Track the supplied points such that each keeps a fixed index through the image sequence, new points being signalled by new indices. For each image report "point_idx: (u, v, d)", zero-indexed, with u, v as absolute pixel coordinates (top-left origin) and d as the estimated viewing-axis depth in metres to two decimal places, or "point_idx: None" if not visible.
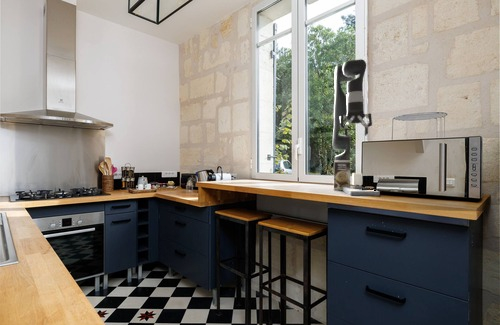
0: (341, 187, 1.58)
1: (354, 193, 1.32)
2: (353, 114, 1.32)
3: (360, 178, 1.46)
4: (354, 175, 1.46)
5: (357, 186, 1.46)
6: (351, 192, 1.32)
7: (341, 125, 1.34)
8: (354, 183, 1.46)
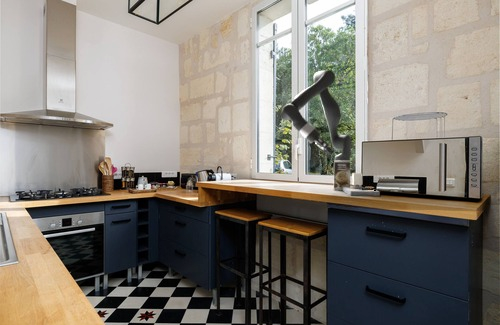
0: (341, 187, 1.58)
1: (354, 193, 1.32)
2: (315, 141, 1.52)
3: (360, 178, 1.46)
4: (354, 175, 1.46)
5: (357, 186, 1.46)
6: (351, 192, 1.32)
7: (321, 149, 1.57)
8: (354, 183, 1.46)
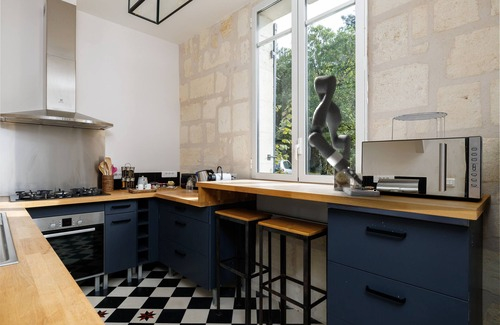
0: (341, 187, 1.58)
1: (354, 193, 1.32)
2: None
3: (360, 178, 1.46)
4: (354, 175, 1.46)
5: (357, 186, 1.46)
6: (351, 192, 1.32)
7: (350, 177, 1.52)
8: (354, 183, 1.46)
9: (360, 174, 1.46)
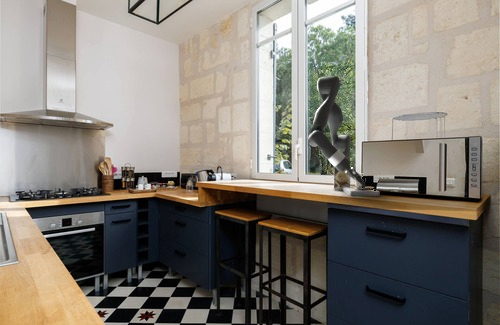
0: (341, 187, 1.58)
1: (354, 193, 1.32)
2: (345, 170, 1.43)
3: None
4: (357, 176, 1.40)
5: (360, 187, 1.40)
6: (351, 192, 1.32)
7: (353, 178, 1.46)
8: (357, 184, 1.40)
9: None
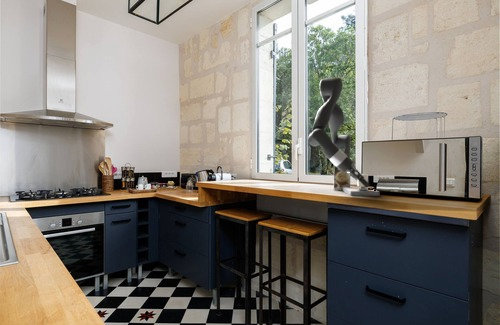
0: (341, 187, 1.58)
1: (354, 193, 1.32)
2: (347, 170, 1.38)
3: (366, 179, 1.34)
4: None
5: (362, 188, 1.34)
6: (351, 192, 1.32)
7: (355, 179, 1.40)
8: (359, 185, 1.35)
9: (366, 175, 1.34)
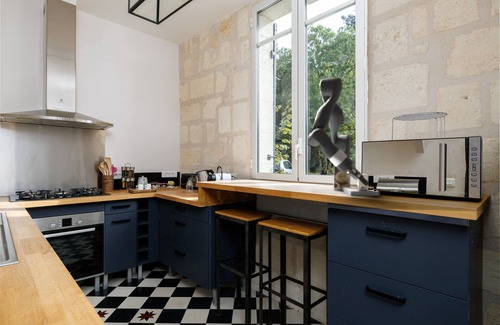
0: (341, 187, 1.58)
1: (354, 193, 1.32)
2: (347, 170, 1.38)
3: (366, 179, 1.34)
4: (359, 176, 1.35)
5: (362, 188, 1.34)
6: (351, 192, 1.32)
7: None
8: (359, 185, 1.35)
9: (366, 175, 1.34)
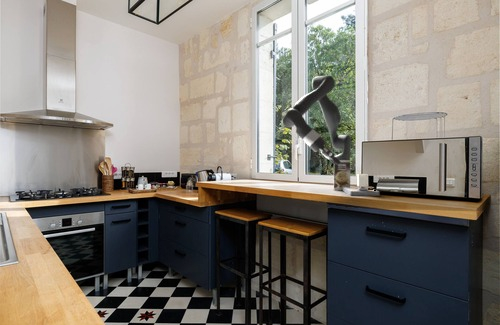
0: (341, 187, 1.58)
1: (354, 193, 1.32)
2: (321, 150, 1.40)
3: (366, 179, 1.34)
4: (359, 176, 1.35)
5: (362, 188, 1.34)
6: (351, 192, 1.32)
7: (326, 157, 1.45)
8: (359, 185, 1.35)
9: (366, 175, 1.34)
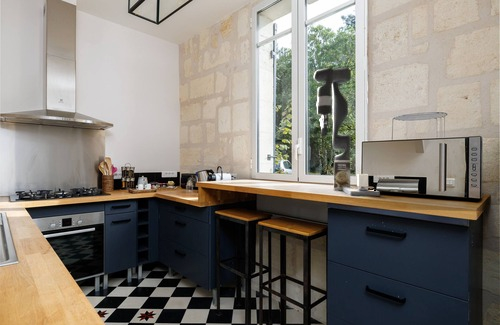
0: (341, 187, 1.58)
1: (354, 193, 1.32)
2: None
3: (366, 179, 1.34)
4: (359, 176, 1.35)
5: (362, 188, 1.34)
6: (351, 192, 1.32)
7: (321, 127, 1.56)
8: (359, 185, 1.35)
9: (366, 175, 1.34)
